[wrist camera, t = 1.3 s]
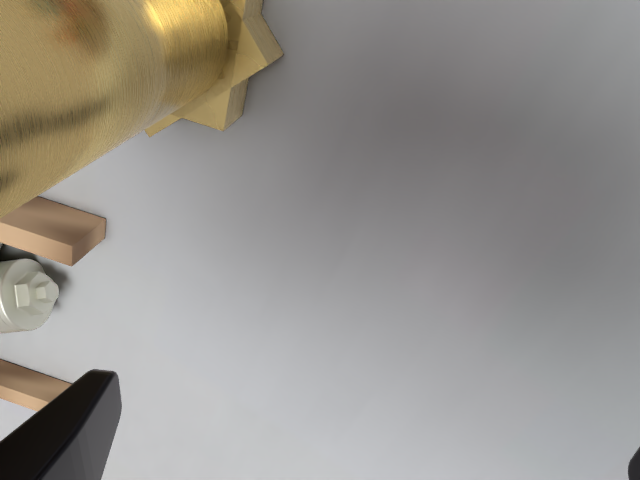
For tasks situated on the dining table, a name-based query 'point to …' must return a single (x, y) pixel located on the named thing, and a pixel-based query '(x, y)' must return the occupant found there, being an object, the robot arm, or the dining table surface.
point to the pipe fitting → (25, 295)
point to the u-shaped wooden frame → (56, 244)
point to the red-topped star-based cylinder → (115, 78)
